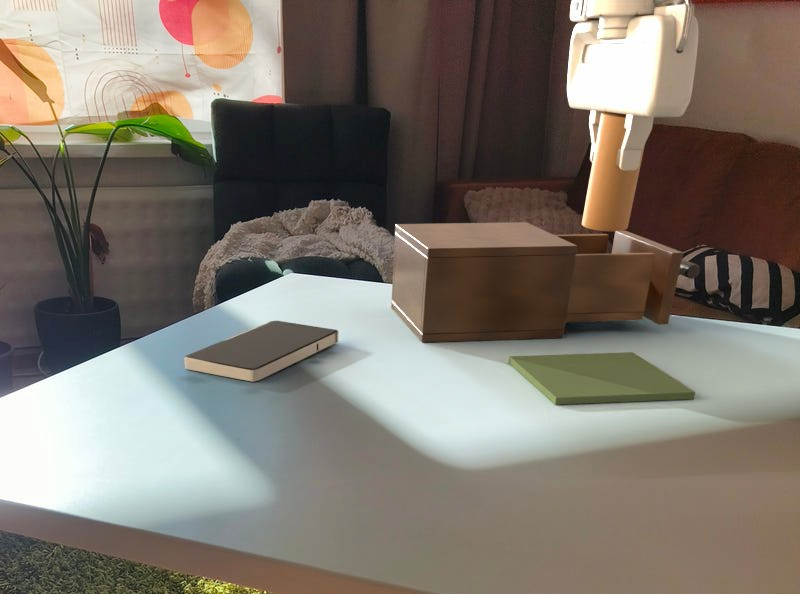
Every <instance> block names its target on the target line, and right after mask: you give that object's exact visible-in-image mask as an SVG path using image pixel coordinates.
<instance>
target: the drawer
mask: <svg viewBox="0 0 800 594" xmlns="http://www.w3.org/2000/svg"><path fill="white" fill-rule="evenodd" d="M554 235H555V236H557V237H559V238H562V239H564V240H566V241H568V242H570V243H572V244H574V245H577V253H576V259H575V265H574V272H573V278H572V285H571V291H570V298H569V304H568V311H567V317H566V323H582V322H583V323H585V322H587V323H589V322H621V321H643V319H644V318H645V319H647V320H649V321H651V322H652V323H654V324H656V325H668V324H669V321H670V317H671V312H672V307H673V303H674V298H675V293H676V289H677V284H678V279H679V276H680V275H681V276H683V277H685V278H687V279H690V280H693V279H696V278H697V277H698V276H699V274H700V272H701V269H700V266H699V265H698V264H696V263H693V262H690V261H689V260H686V259H684V258H683V257H684V256H683V255H684V252H683V251H680V250H677V249H675V248H672V247H669V246H667V245H664V244H662V243H659V242H656V241H655V240H652V239H649V238H646V237H643V236H641V235H638V234H636V233H633V232H630V231H627V230H622V231H614V238H613V243H612V249H611V253H610V252H609V253H607V249H608V243H609V237H610V236H609V234H607V233H586V234H585V233H581V234H578V233H577V234H576V233H575V234H554Z"/></svg>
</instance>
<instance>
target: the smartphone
mask: <svg viewBox="0 0 800 594" xmlns="http://www.w3.org/2000/svg"><path fill="white" fill-rule="evenodd" d="M337 343H339V331H338V329H333V328H327V327H321V326H315V325H309V324H301V323H296V322H288V321H282V320H270V321H268V322H266V323H263V324H260V325H258V326H256V327H253V328H251V329H249V330H246V331H243V332H240V333H238V334H236V335H234V336H231V337H228V338H226V339H223V340H221V341H219V342H216V343H214V344H212V345H209V346H207V347H204V348H202V349H199V350H196V351H194V352H191V353H190V354H189V353H188V354H186V355H185V356H184V357H183V358H184V360H183V361H184V369H185V370H189V371H194V372H200V373H205V374H211V375H214V376H220V377H226V378H231V379H237V380H242V381H245V382H253V383H254V382H258V381H261V380H263V379H264V378H267V377H269V376H271V375H273V374H275V373H277V372H279V371H281V370H283V369H285V368H288V367H289V366H292V365H294V364H295V363H298V362H300V361H302V360H304V359H306V358H309V357H310V356H312V355H314V354H316V353H318V352H321V351H322V350H324V349H326V348H329V347H332V346H333V345H334V344H337Z"/></svg>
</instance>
